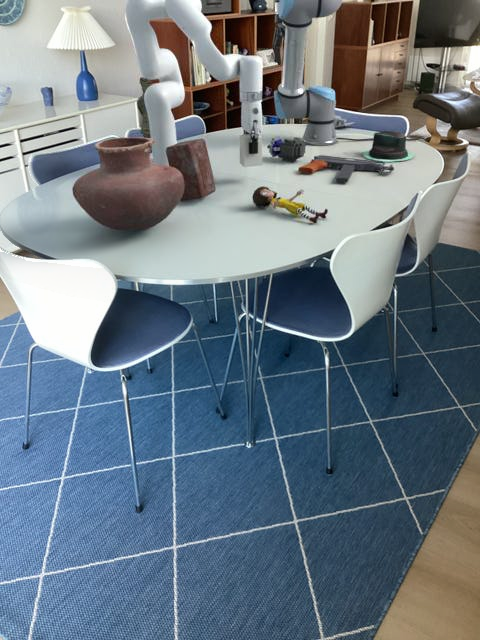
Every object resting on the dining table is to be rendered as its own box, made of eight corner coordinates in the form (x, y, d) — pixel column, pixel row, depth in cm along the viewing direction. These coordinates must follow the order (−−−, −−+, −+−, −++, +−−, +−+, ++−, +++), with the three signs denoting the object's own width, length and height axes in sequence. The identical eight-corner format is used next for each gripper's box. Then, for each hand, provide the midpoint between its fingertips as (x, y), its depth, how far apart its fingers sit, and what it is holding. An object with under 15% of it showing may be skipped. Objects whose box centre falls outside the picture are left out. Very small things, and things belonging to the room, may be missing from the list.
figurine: (311, 212, 157) (243, 186, 169) (307, 236, 161) (241, 209, 173) (335, 200, 165) (269, 176, 178) (331, 223, 170) (266, 198, 182)
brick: (261, 165, 196) (262, 136, 191) (244, 167, 194) (244, 138, 189) (256, 161, 200) (257, 133, 195) (239, 163, 199) (239, 134, 194)
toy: (275, 134, 227) (308, 138, 220) (275, 155, 231) (307, 159, 224) (264, 138, 221) (297, 142, 214) (264, 160, 225) (297, 164, 218)
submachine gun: (291, 170, 202) (317, 154, 221) (291, 177, 204) (317, 161, 222) (376, 180, 189) (396, 162, 207) (375, 188, 190) (395, 170, 209)
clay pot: (119, 206, 179) (108, 126, 166) (203, 217, 169) (199, 132, 156) (58, 240, 155) (40, 149, 142) (152, 255, 144) (142, 159, 132)
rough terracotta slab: (94, 159, 190) (189, 144, 170) (112, 152, 198) (205, 137, 178) (110, 208, 198) (203, 199, 177) (127, 200, 205) (218, 190, 185)
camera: (330, 99, 279) (356, 102, 271) (329, 123, 285) (354, 127, 277) (320, 101, 274) (346, 105, 265) (319, 126, 280) (344, 130, 271)
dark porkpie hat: (354, 155, 225) (369, 146, 240) (391, 182, 222) (404, 171, 237) (375, 123, 215) (389, 115, 230) (414, 151, 213) (426, 141, 228)
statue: (170, 147, 247) (164, 74, 232) (162, 152, 239) (156, 77, 224) (146, 146, 250) (139, 74, 234) (138, 151, 242) (130, 77, 226)
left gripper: (270, 100, 180) (268, 156, 189) (253, 92, 194) (253, 145, 203) (247, 101, 178) (247, 158, 187) (233, 93, 192) (233, 146, 201)
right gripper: (301, 13, 245) (299, 66, 256) (280, 12, 265) (280, 61, 276) (285, 14, 243) (284, 66, 254) (266, 12, 264) (265, 61, 274)
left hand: (250, 150), depth 195 cm, fingers closed on brick, 5 cm apart
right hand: (282, 64), depth 265 cm, fingers open, 13 cm apart
